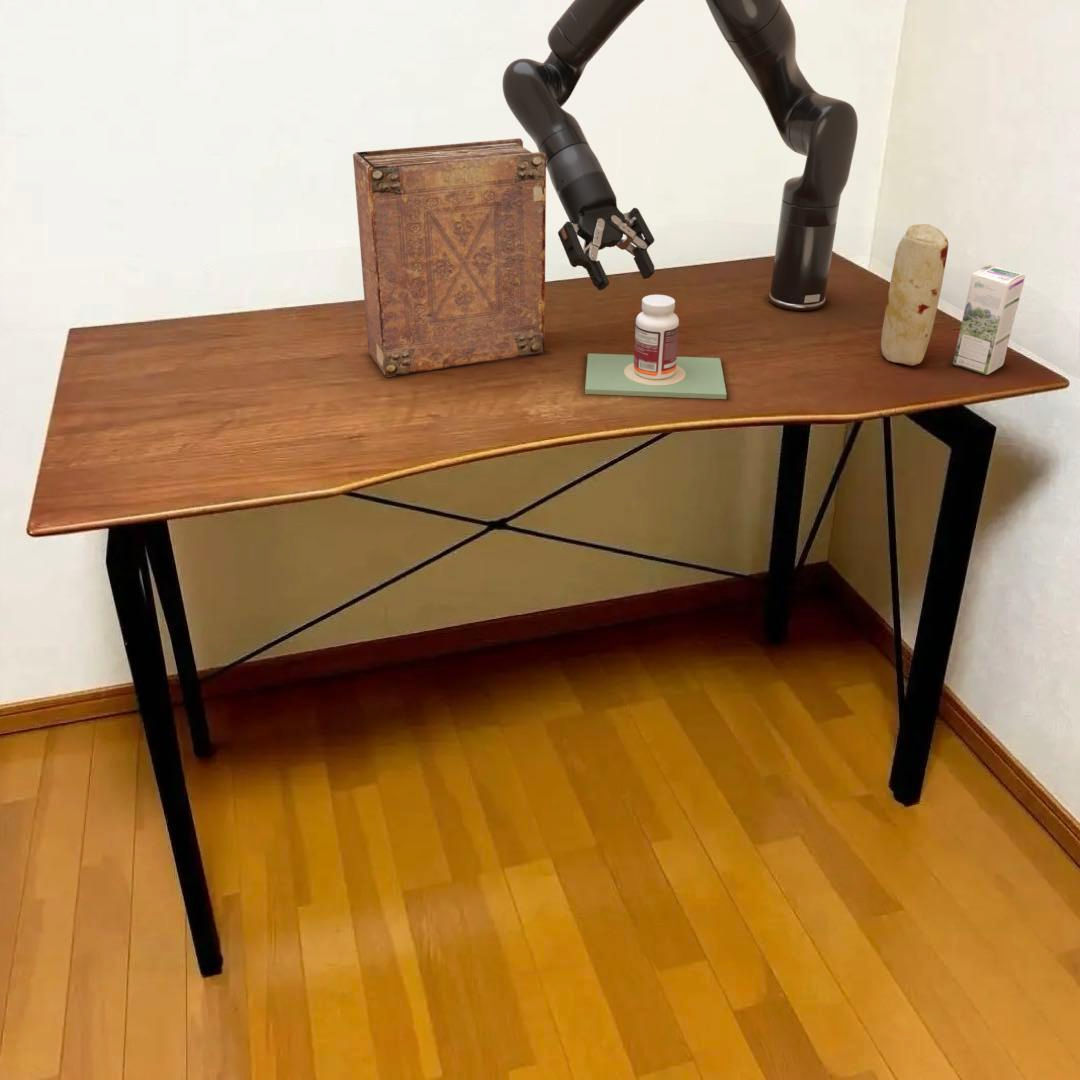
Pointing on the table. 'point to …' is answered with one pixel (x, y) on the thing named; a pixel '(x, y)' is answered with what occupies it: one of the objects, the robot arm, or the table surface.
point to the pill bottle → (656, 338)
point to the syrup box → (988, 319)
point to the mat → (687, 381)
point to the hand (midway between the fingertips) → (627, 281)
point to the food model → (914, 294)
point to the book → (452, 253)
